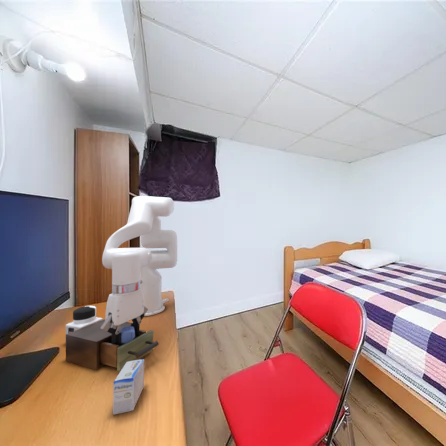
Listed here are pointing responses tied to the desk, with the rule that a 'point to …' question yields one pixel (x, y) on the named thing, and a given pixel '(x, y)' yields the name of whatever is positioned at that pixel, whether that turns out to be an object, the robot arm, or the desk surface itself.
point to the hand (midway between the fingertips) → (126, 339)
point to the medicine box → (128, 386)
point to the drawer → (126, 350)
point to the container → (82, 318)
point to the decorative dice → (127, 334)
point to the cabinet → (87, 344)
